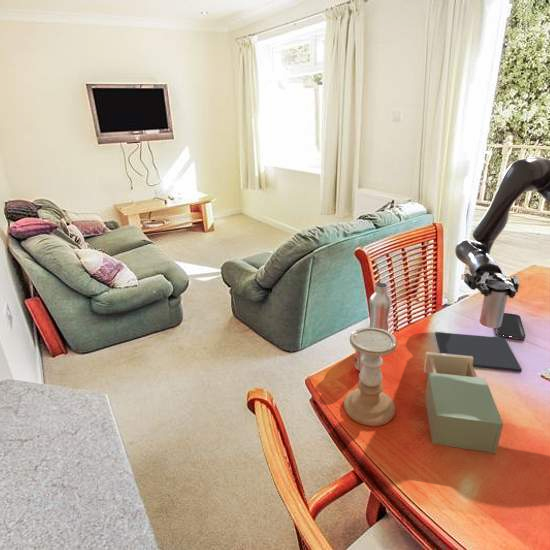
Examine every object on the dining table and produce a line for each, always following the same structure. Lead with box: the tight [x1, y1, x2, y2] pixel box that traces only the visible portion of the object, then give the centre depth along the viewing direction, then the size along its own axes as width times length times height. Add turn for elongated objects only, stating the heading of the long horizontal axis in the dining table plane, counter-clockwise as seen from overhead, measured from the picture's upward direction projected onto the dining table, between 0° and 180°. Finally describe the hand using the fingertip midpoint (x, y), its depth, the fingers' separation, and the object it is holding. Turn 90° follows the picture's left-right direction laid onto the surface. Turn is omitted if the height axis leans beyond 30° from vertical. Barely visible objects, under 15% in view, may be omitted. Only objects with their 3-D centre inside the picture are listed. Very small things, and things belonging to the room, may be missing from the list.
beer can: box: [354, 349, 364, 372], centre depth 105 cm, size 5×5×12 cm
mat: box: [434, 331, 523, 373], centre depth 112 cm, size 20×16×1 cm
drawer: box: [423, 351, 478, 378], centre depth 95 cm, size 15×11×6 cm
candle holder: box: [343, 327, 398, 427], centre depth 89 cm, size 12×12×20 cm
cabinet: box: [424, 372, 504, 454], centre depth 85 cm, size 15×13×8 cm
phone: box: [495, 312, 526, 340], centre depth 123 cm, size 8×1×15 cm
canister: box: [479, 281, 510, 329], centre depth 104 cm, size 6×6×12 cm
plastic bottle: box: [368, 282, 392, 332], centre depth 115 cm, size 6×7×20 cm
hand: (499, 294), depth 100 cm, fingers closed on canister, 5 cm apart
